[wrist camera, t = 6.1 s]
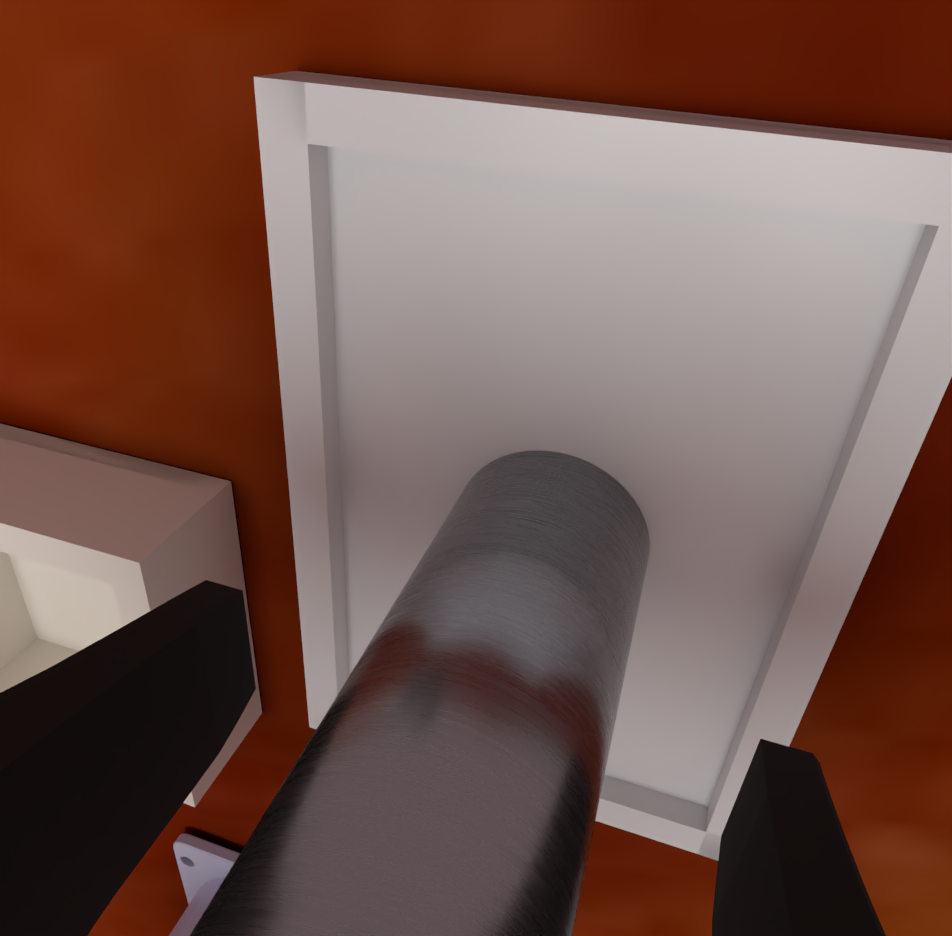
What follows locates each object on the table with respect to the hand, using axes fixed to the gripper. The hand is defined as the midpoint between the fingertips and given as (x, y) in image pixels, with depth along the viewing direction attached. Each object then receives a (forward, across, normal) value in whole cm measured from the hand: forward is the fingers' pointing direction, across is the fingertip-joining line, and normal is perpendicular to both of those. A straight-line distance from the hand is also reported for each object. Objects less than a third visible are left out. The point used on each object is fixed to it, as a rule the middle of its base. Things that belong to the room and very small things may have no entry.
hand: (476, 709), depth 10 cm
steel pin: (+4, 0, 0) cm, 4 cm away
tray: (+5, 0, 0) cm, 5 cm away
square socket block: (+5, +11, +5) cm, 13 cm away
